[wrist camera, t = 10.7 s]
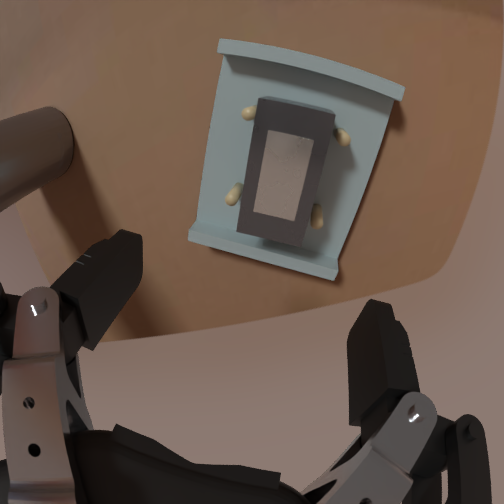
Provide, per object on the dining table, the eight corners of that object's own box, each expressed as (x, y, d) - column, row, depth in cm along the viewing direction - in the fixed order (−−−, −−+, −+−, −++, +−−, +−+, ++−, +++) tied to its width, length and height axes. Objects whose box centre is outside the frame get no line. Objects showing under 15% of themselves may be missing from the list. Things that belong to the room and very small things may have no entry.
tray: (199, 225, 30) (183, 246, 27) (230, 43, 20) (215, 36, 17) (332, 261, 30) (334, 287, 26) (394, 86, 20) (409, 87, 16)
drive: (268, 95, 21) (258, 97, 17) (330, 109, 21) (336, 114, 17) (248, 211, 27) (235, 238, 23) (301, 223, 27) (299, 253, 22)
